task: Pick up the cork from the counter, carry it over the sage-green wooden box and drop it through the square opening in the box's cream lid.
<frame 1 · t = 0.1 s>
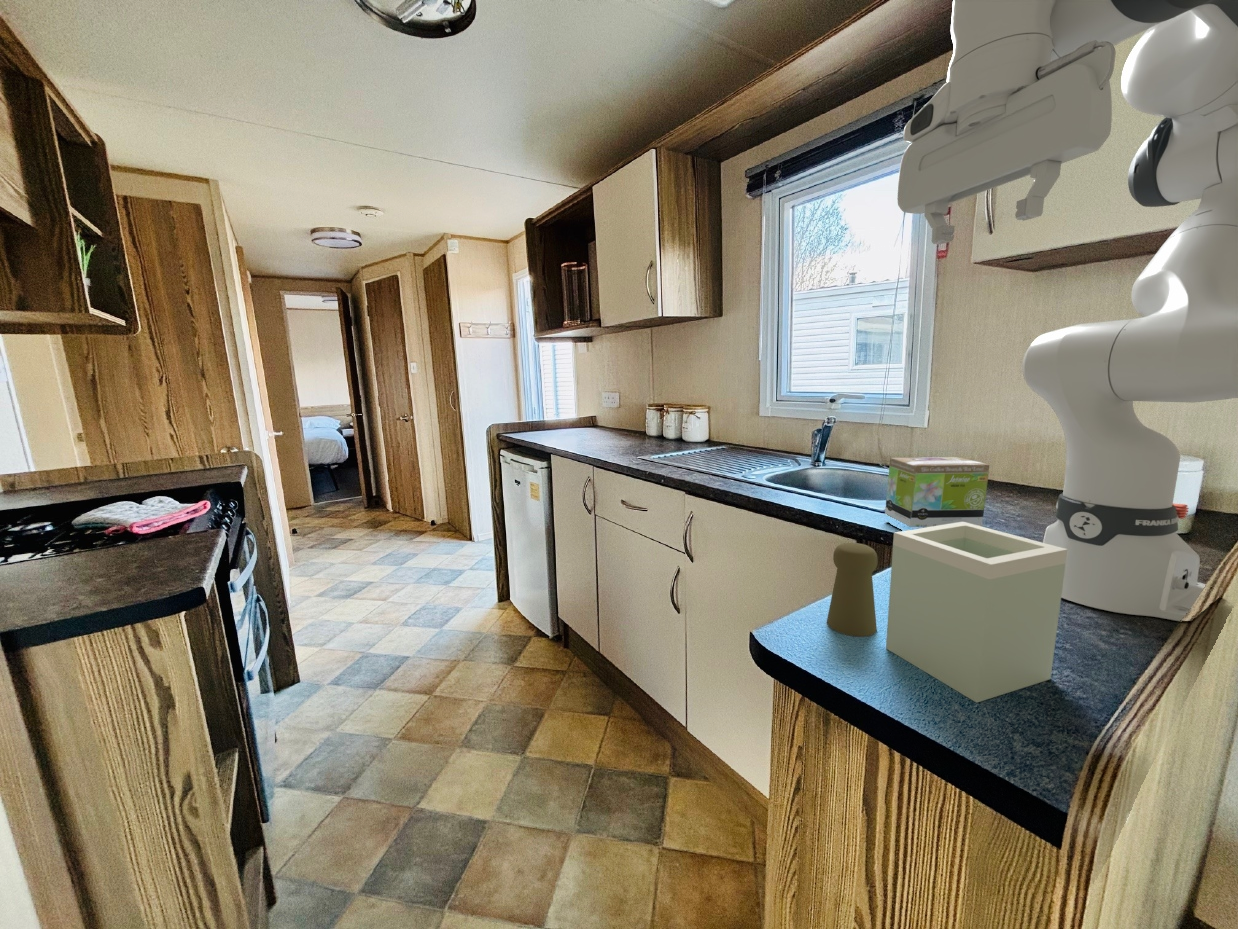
hand: (981, 231, 55), 48 cm above the counter, tool pointing down, fingers open, 8 cm apart
cork: (851, 626, 66), on the counter
tea box: (931, 529, 106), on the counter
coin box: (963, 662, 57), on the counter
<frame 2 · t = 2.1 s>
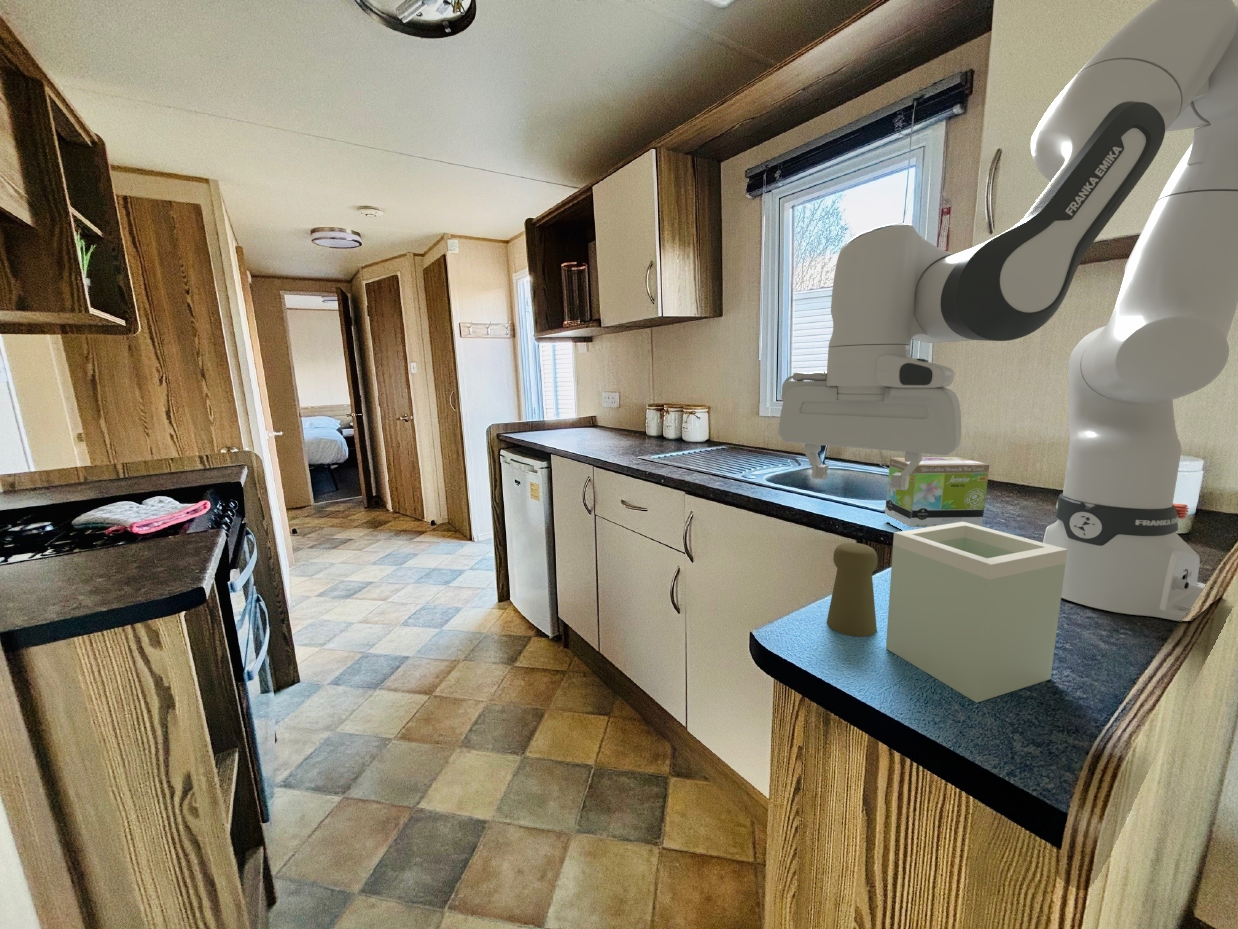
hand: (857, 483, 63), 19 cm above the counter, tool pointing down, fingers open, 8 cm apart
nothing on the counter moved.
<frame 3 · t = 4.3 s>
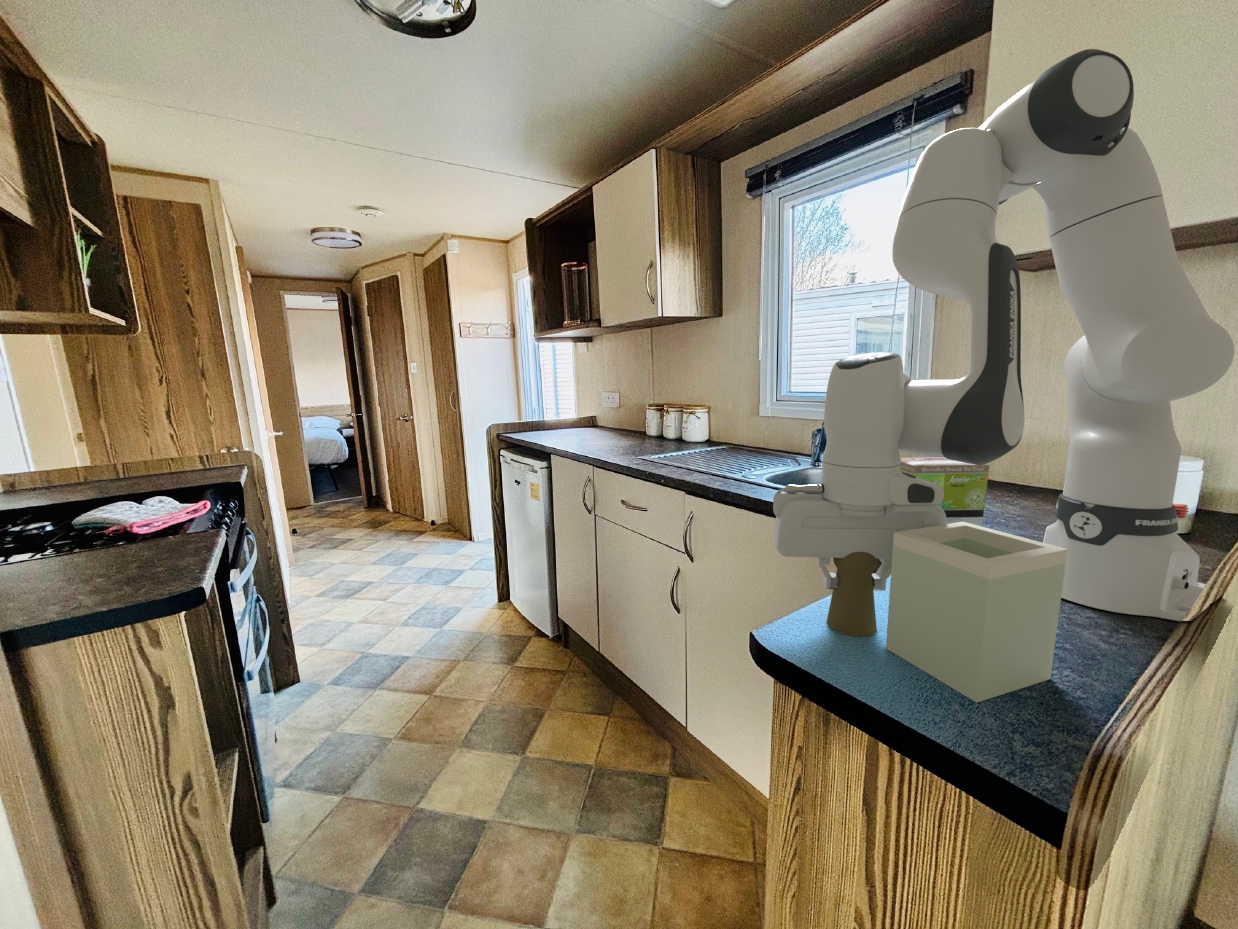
hand: (853, 588, 65), 5 cm above the counter, tool pointing down, fingers closed on cork, 4 cm apart
cork: (851, 626, 66), on the counter, touching gripper
everything else where it was.
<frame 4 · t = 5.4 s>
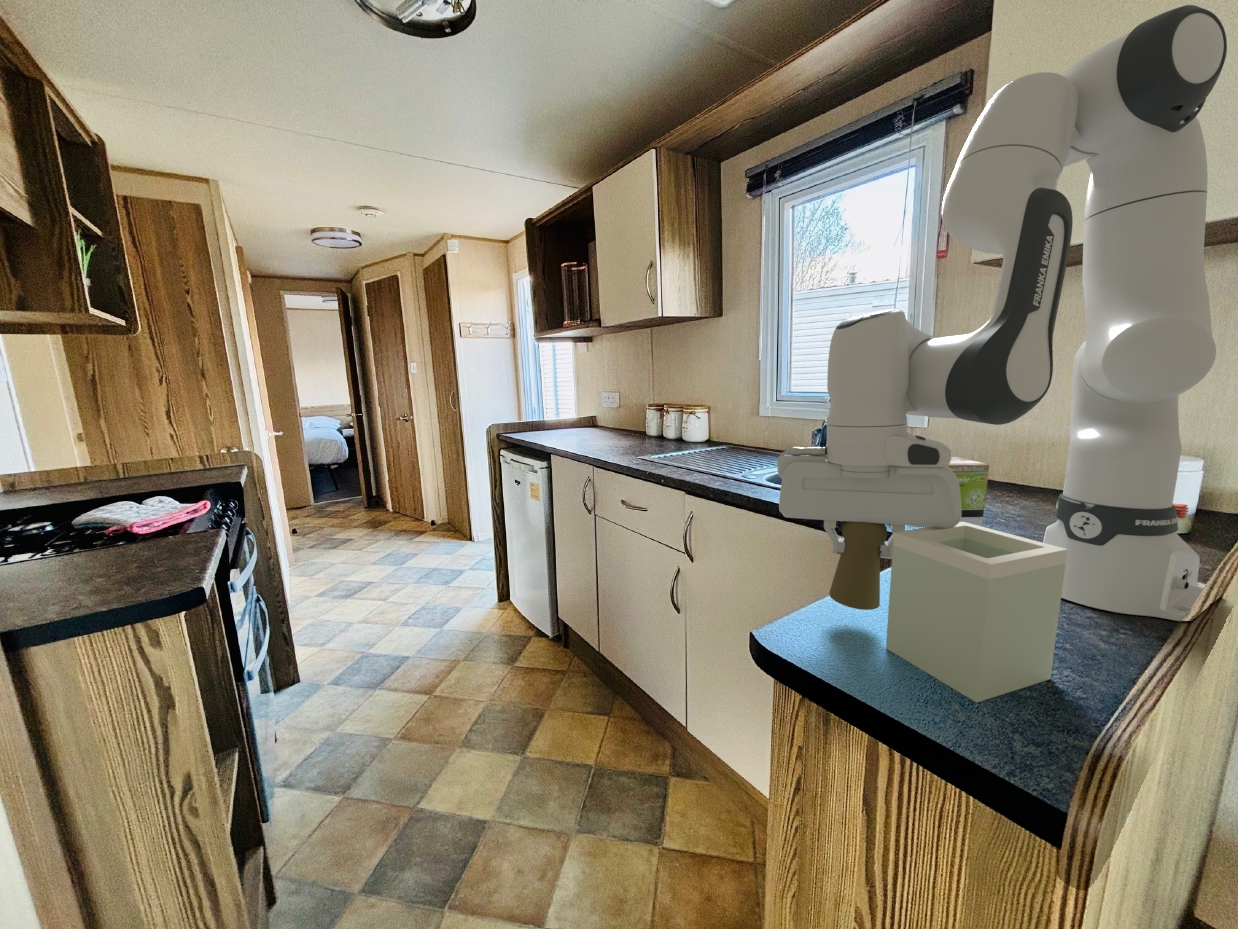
hand: (862, 554, 64), 10 cm above the counter, tool pointing down, fingers closed on cork, 4 cm apart
cork: (853, 600, 65), point 4 cm above the counter, touching gripper
everything else where it was.
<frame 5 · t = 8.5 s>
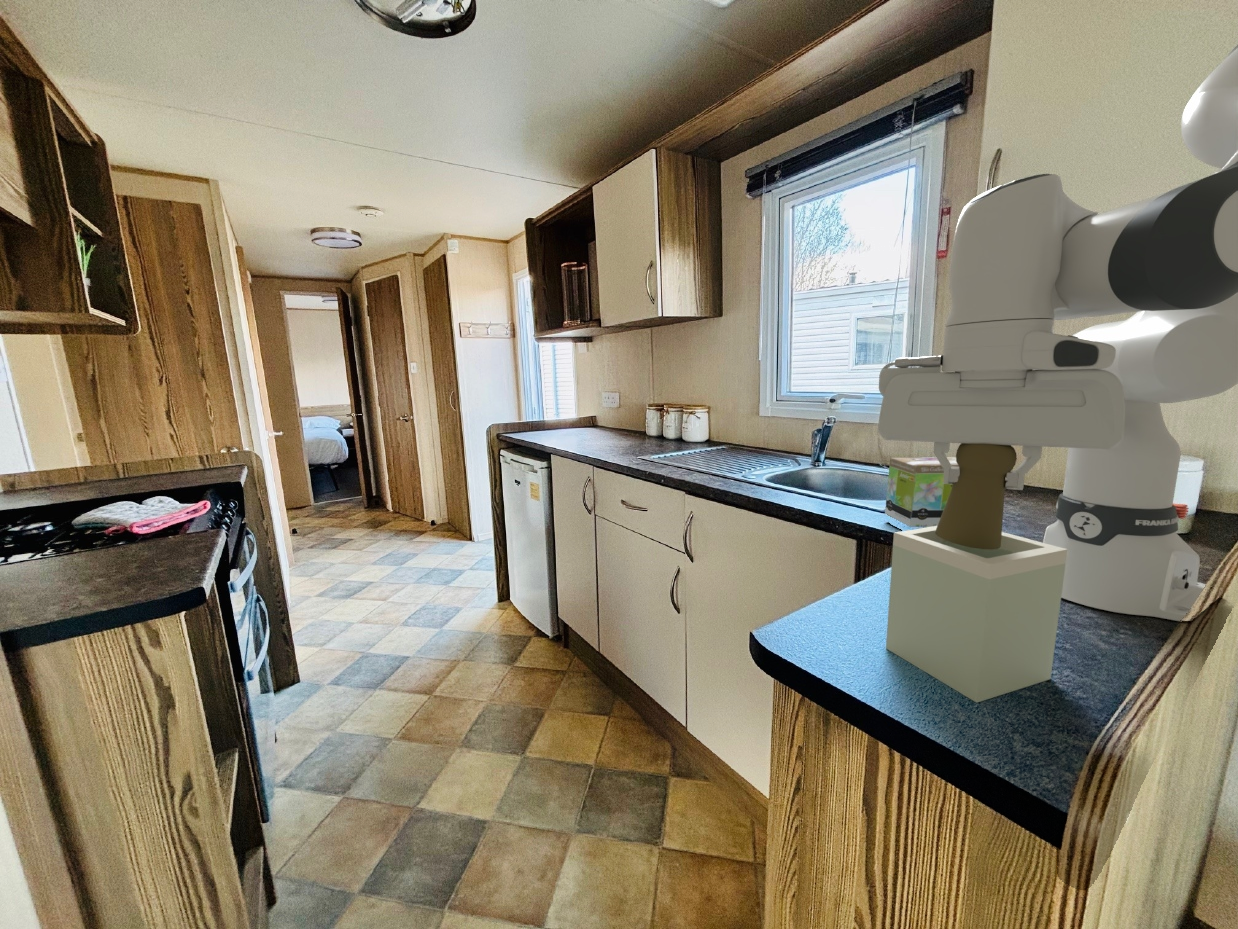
hand: (981, 485, 53), 21 cm above the counter, tool pointing down, fingers closed on cork, 4 cm apart
cork: (966, 540, 55), point 14 cm above the counter, touching gripper
everything else where it was.
when the fingers open (21 cm above the counter, at t = 9.2 s): cork drops 2 cm, resting on coin box.
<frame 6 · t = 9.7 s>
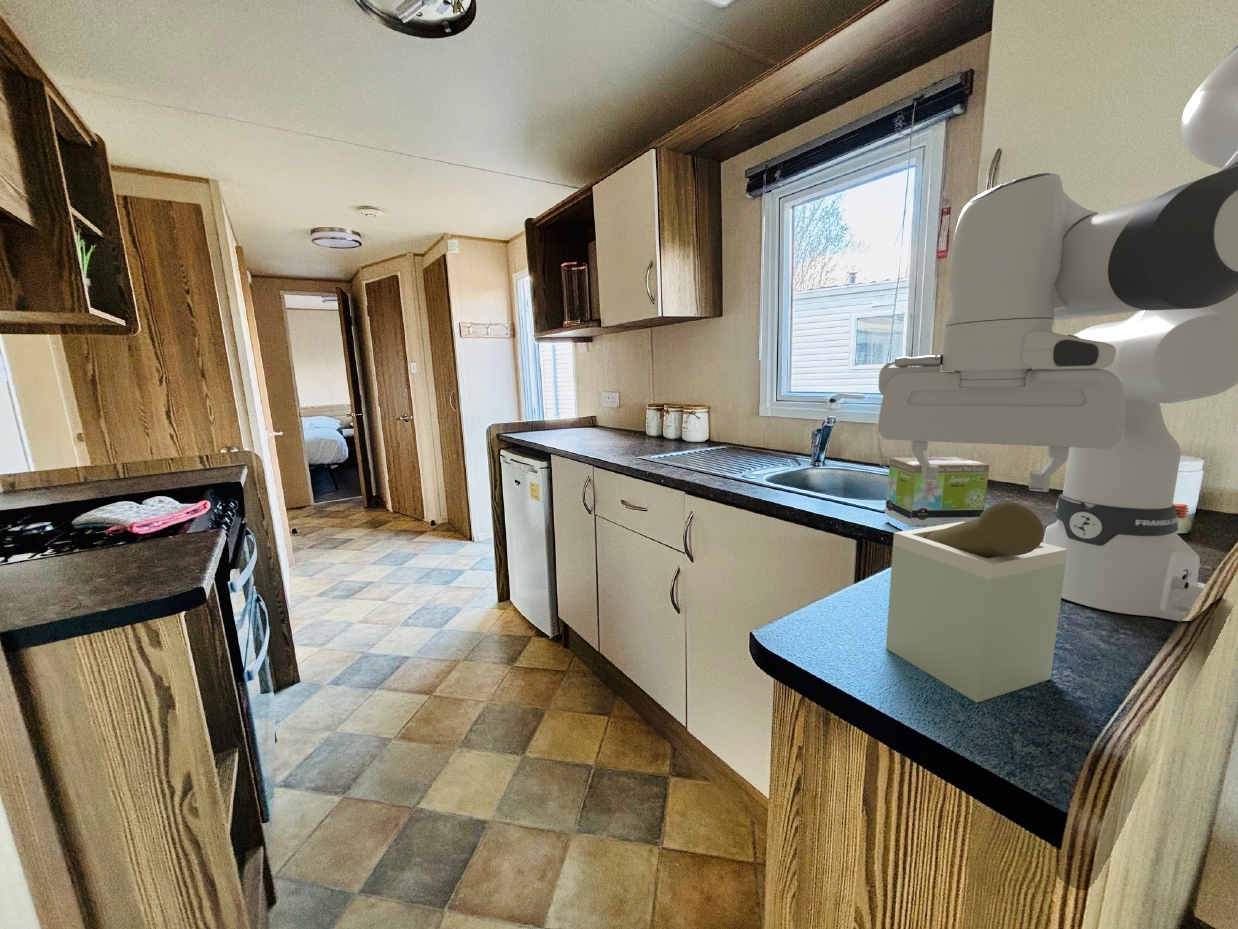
hand: (981, 485, 53), 21 cm above the counter, tool pointing down, fingers open, 8 cm apart
cork: (945, 557, 57), point 12 cm above the counter, touching coin box
everything else where it was.
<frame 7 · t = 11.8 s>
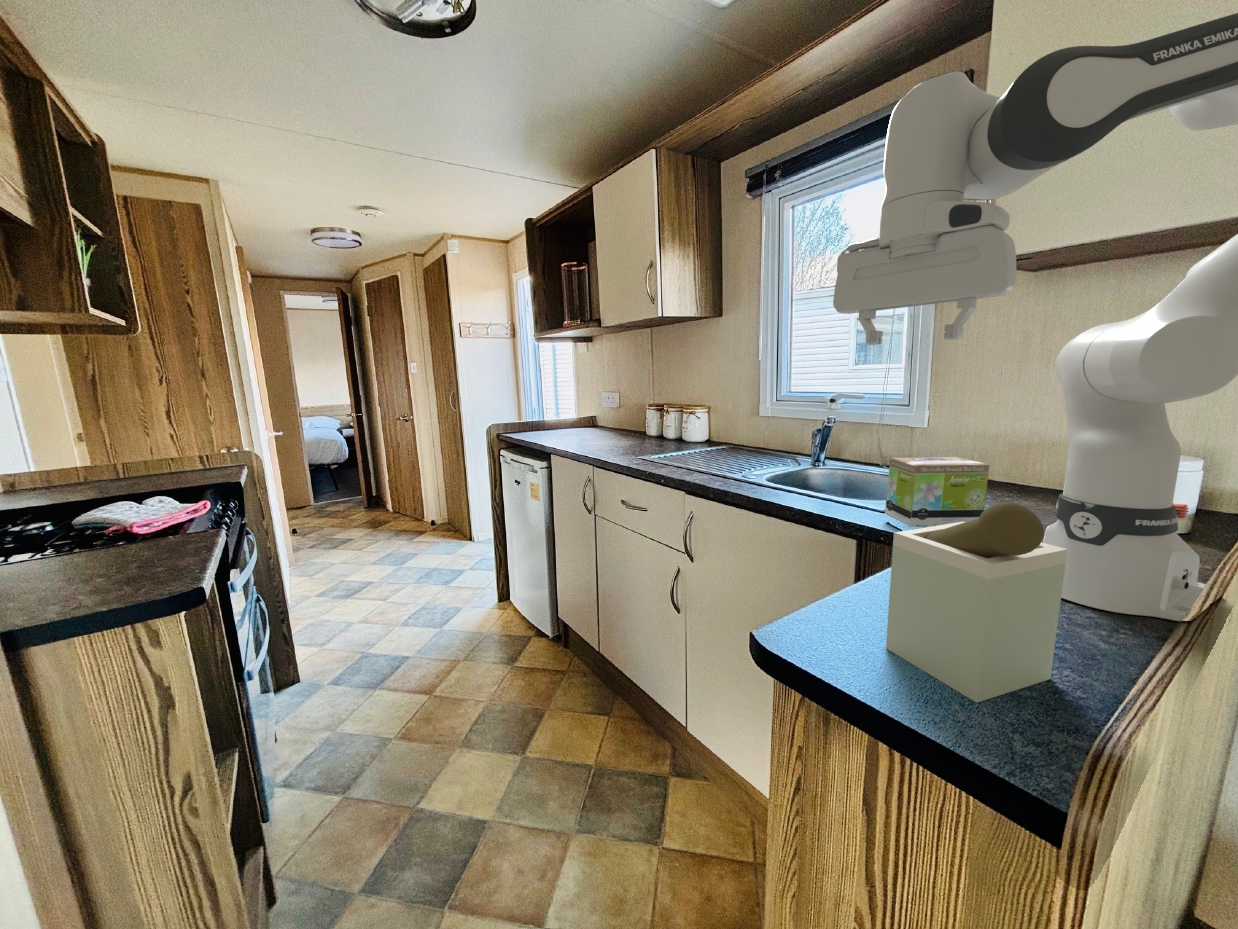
hand: (911, 342, 65), 37 cm above the counter, tool pointing down, fingers open, 8 cm apart
nothing on the counter moved.
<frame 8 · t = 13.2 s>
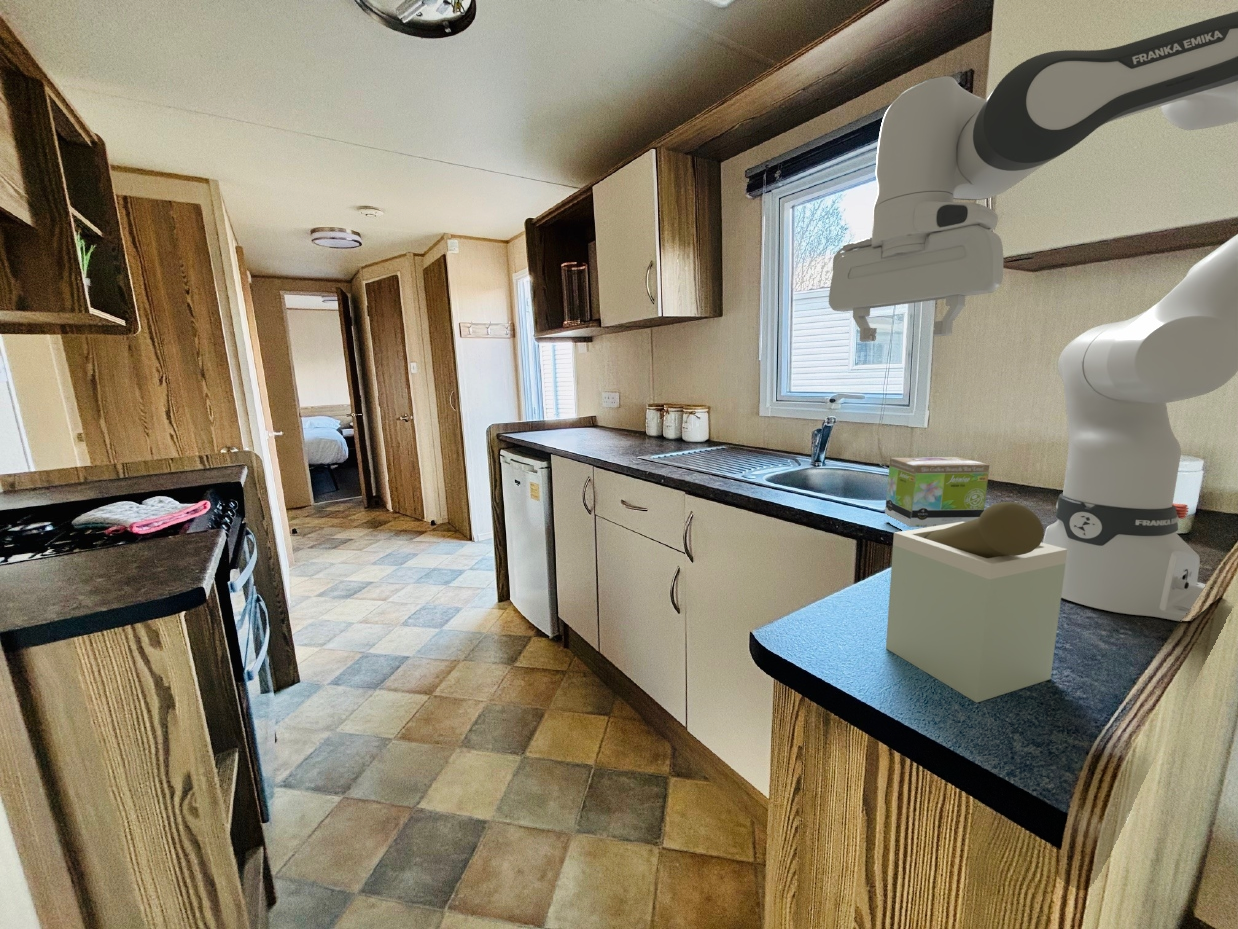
hand: (902, 338, 67), 37 cm above the counter, tool pointing down, fingers open, 8 cm apart
nothing on the counter moved.
at the end: cork inside the target area on the coin box (2.7 cm from its centre), point 11.8 cm above the coin box's base; the gripper is holding nothing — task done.
